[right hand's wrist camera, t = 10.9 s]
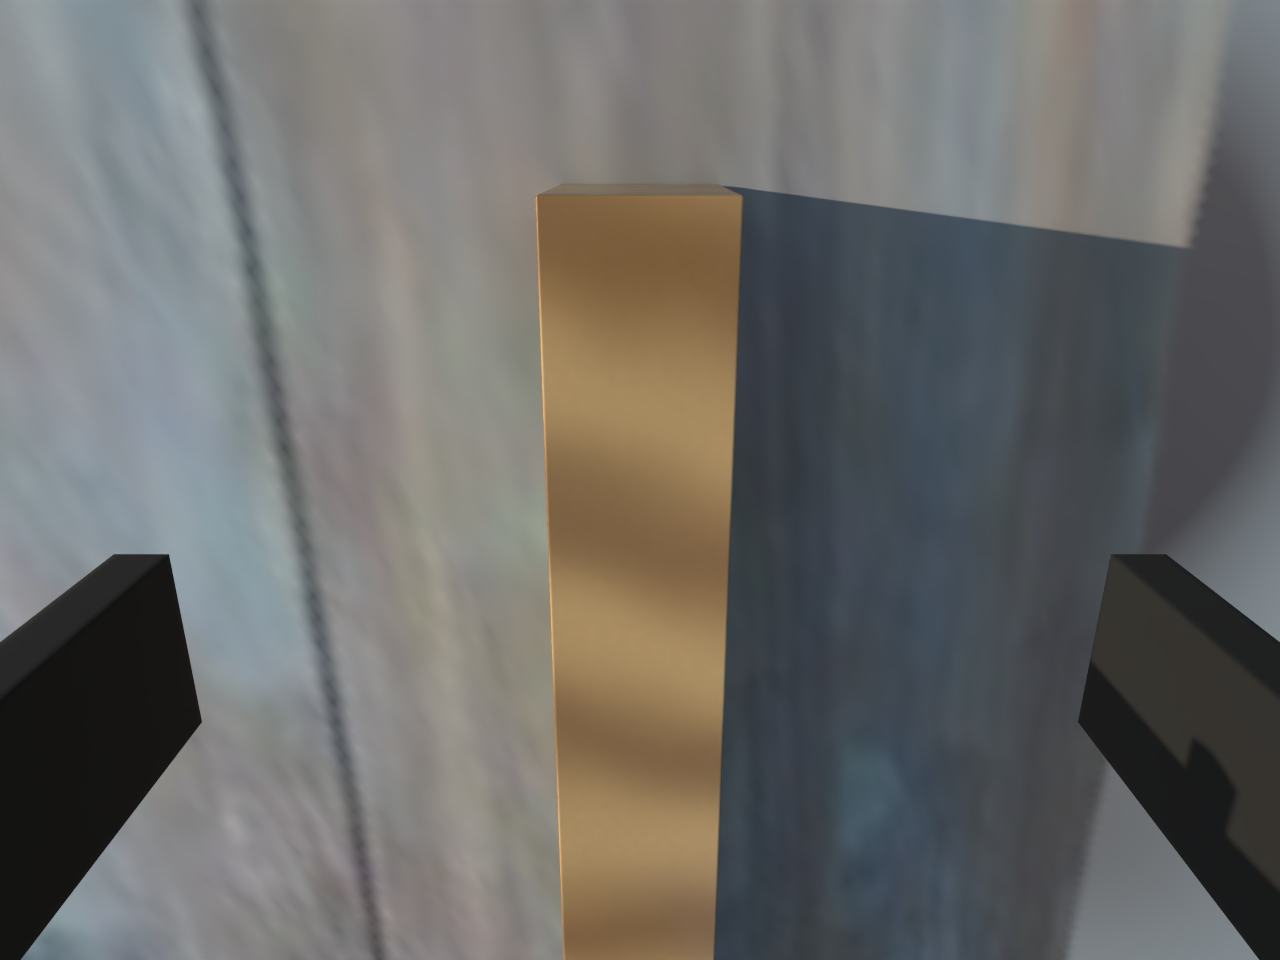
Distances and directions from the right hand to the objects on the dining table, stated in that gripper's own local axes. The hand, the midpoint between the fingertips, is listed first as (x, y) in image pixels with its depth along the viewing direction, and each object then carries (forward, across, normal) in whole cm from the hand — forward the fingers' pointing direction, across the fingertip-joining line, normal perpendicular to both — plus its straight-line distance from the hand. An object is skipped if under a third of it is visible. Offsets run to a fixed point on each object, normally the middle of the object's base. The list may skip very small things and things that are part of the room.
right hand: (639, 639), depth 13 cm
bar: (+21, 0, -34) cm, 40 cm away
